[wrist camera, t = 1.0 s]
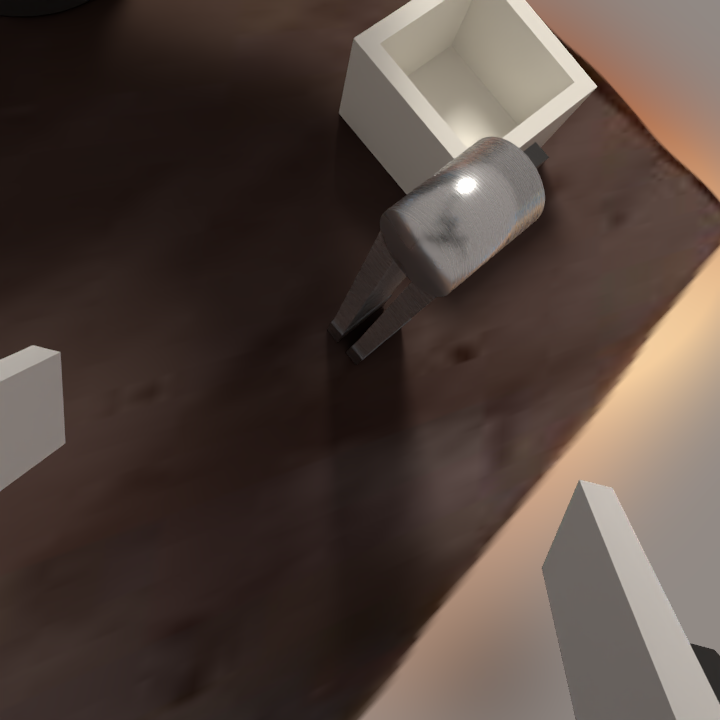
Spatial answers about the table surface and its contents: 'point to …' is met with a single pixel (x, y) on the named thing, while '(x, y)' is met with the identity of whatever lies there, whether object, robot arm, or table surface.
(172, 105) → the table surface
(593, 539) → the robot arm
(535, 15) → the caddy
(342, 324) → the tongs
